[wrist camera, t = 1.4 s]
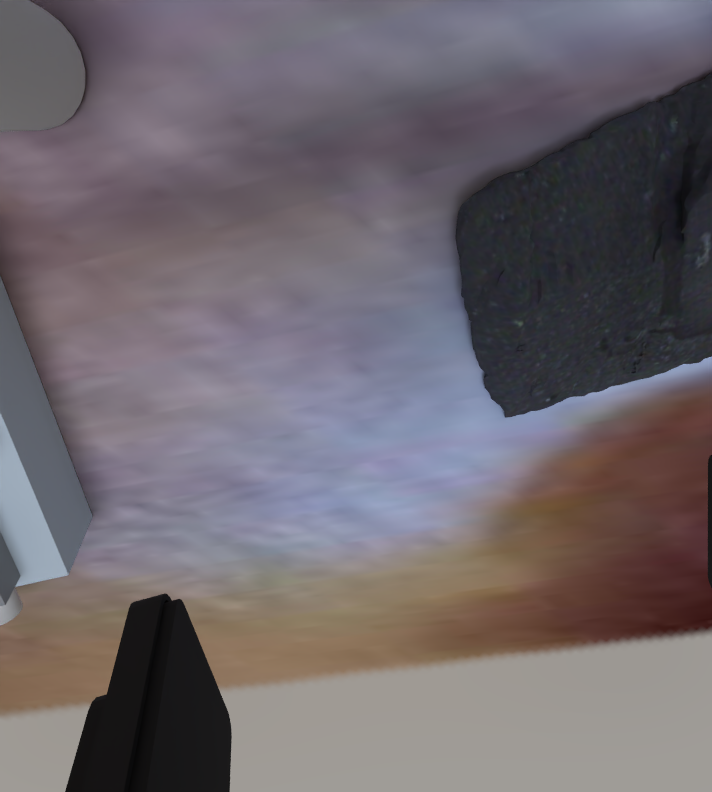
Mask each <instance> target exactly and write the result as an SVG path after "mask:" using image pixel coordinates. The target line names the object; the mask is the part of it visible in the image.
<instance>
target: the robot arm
mask: <svg viewBox="0 0 712 792" xmlns="http://www.w3.org/2000/svg"><path fill="white" fill-rule="evenodd" d="M708 579H709V583H710V585H711V588H712V455H711V456H710V457H709V461H708ZM230 762H231V723H230V718H229V714H228V711H227V708H226V706H225V703H224V701H223V698H222V696H221V694H220V691H219V689H218V686H217V684H216V681H215V679H214V676H213V674H212V671H211V669H210V667H209V664H208V662H207V659H206V657H205V654H204V652H203V649H202V647H201V645H200V642H199V640H198V637H197V635H196V632H195V630H194V627H193V625H192V623H191V620H190V618H189V615H188V613H187V610H186V608H185V605H184V603H183V602H182V600H181V599H177V600H173V601H172V600H171V598H170V597H169V596H168V595H167V594H162V595H158V596H154V597H151V598H147V599H143V600H140V601H136V602H133V603H132V604H131V605H130V608H129V611H128V615H127V619H126V622H125V626H124V630H123V634H122V638H121V642H120V646H119V649H118V653H117V657H116V661H115V665H114V669H113V673H112V676H111V680H110V684H109V688H108V692H107V695H103V696H100V697H96V698H95V700H94V701H93V702H92V703H91V706H90V708H89V710H88V714H87V717H86V721H85V724H84V728H83V731H82V735H81V738H80V742H79V745H78V749H77V752H76V756H75V760H74V763H73V766H72V770H71V773H70V777H69V781H68V784H67V788H66V791H65V792H229V790H230Z"/></svg>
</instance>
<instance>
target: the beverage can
mask: <svg viewBox="0 0 712 792" xmlns="http://www.w3.org/2000/svg"><path fill="white" fill-rule="evenodd" d="M84 90H85V67H84V63H83V59H82V55H81V52H80V50H79V48H78V46H77V44H76V42H75V40H74V38H73V36H72V35H71V34H70V33H69V31H68V30H67V29H66V28H65V27H64V25H63V24H62V23H61V22H60V21H59V20H58V19H56V18H55V17H54V16H53V15H51V14H50V13H49V12H47V11H46V10H45V9H43V8H41V7H39V6H38V5H36V4H34V3H33V2H31V1H29V0H0V132H5V131H36V130H48V129H51V128H54V127H57V126H60V125H62V124H63V123H64V122H66V121H67V120H68V119H69V118H71V117H72V116H73V115H74V113H75V111H76V110H77V108H78V107H79V105H80V103H81V101H82V97H83V94H84Z"/></svg>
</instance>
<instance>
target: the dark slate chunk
mask: <svg viewBox="0 0 712 792" xmlns="http://www.w3.org/2000/svg"><path fill="white" fill-rule="evenodd" d="M456 242H457V249H458V253H459V256H460V267H461V274H462V293H461V295H462V297H463V298H464V305H465V309H466V311H467V313H468V316H469V320H471V321H472V322H471V331H472V342H473V349H474V351H475V354H476V357H477V360H478V362H479V366H480V368H481V369H482V370H483V371H484V372H485V373H486V375H485V377H484V384H485V388H486V390H487V391H488V392H489V393H490V396H491V399H492V400H494V401H495V402H496V403H497V404H499V405H500V406H501V407H502V409H503V410H504V412H505V417H512V416H516V415H520V414H525V413H527V412H529V411H537V410H541V409H544V408H547V407H550V406H552V405H554V404H556V403H558V402H561V401H563V400H564V399H566V398H569V397H573V396H585V395H587V394H588V393H591V392H599V391H602V390H605V389H607V388H608V387H610V386H615V385H621V384H625V383H628V382H631V381H635V380H639V379H644V378H649V377H652V376H654V375H657V374H660V373H664V372H667V371H669V370H671V369H673V368H675V367H678V366H680V365H682V364H692V363H699V362H701V361H702V360H703V359H705V358H708V357H711V356H712V74H709V75H707V76H706V78H705V79H704V80H702V81H698V82H694V83H691V84H689V85H687V86H684V87H682V88H681V89H680V90H679V91H678V92H677V94H675V95H669V96H665V97H664V98H663V99H661V100H660V101H659V102H649V103H647V104H646V105H645V106H644V107H643V108H641V109H639V110H637V111H635V112H632V113H629V114H626V115H623V116H621V117H618V118H616V119H614V120H612V121H610V122H608V123H607V124H605V125H603V126H602V127H601V128H600V129H598V130H596V131H594V132H592V133H591V135H590V136H589V138H588V139H583V140H578V141H576V142H573V143H571V144H569V145H568V146H566V147H564V148H562V149H561V150H560V151H559V152H558V153H553V154H551V155H549V156H547V157H545V158H544V159H542V160H541V161H539V162H537V163H536V164H535V165H533V166H531V167H529V168H527V169H525V170H523V171H518V172H512V173H508V174H506V175H503V176H501V177H498V178H496V179H494V180H493V181H491V182H490V183H489V184H488V185H487V186H486V187H485V188H484V189H482V190H480V191H479V192H477V193H476V194H474V195H473V196H472V197H471V198H470V199H468V200H467V201H466V202H465V203H464V204H463V205H462V206H461V208H460V210H459V213H458V219H457V229H456Z"/></svg>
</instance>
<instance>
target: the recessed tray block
mask: <svg viewBox="0 0 712 792" xmlns="http://www.w3.org/2000/svg"><path fill="white" fill-rule="evenodd" d="M92 517H93V516H92V513H91V511H90V508H89V506H88V503H87V500H86V498H85V495H84V493H83V490H82V487H81V485H80V482H79V479H78V477H77V474H76V472H75V469H74V466H73V464H72V461H71V459H70V456H69V453H68V451H67V448H66V446H65V443H64V440H63V438H62V435H61V433H60V430H59V427H58V425H57V422H56V420H55V417H54V414H53V412H52V409H51V406H50V404H49V401H48V399H47V396H46V393H45V391H44V388H43V386H42V383H41V380H40V378H39V375H38V373H37V370H36V367H35V365H34V362H33V360H32V357H31V354H30V352H29V349H28V346H27V344H26V341H25V339H24V336H23V333H22V331H21V328H20V326H19V323H18V320H17V318H16V315H15V313H14V310H13V307H12V305H11V302H10V300H9V297H8V294H7V292H6V289H5V287H4V284H3V281H2V279H1V276H0V625H3V624H5V623H7V622H9V621H10V620H12V619H13V618H14V617H16V616H17V615H18V614H19V613H20V611H21V610H22V607H23V603H22V601H21V599H20V597H19V595H18V593H17V590H16V588H15V587H17V586H21V585H26V584H30V583H35V582H39V581H44V580H48V579H53V578H57V577H62V576H66V575H69V572H70V570H71V568H72V565H73V563H74V560H75V558H76V556H77V553H78V551H79V548H80V546H81V544H82V541H83V539H84V536H85V534H86V532H87V529H88V527H89V524H90V522H91V520H92Z"/></svg>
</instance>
